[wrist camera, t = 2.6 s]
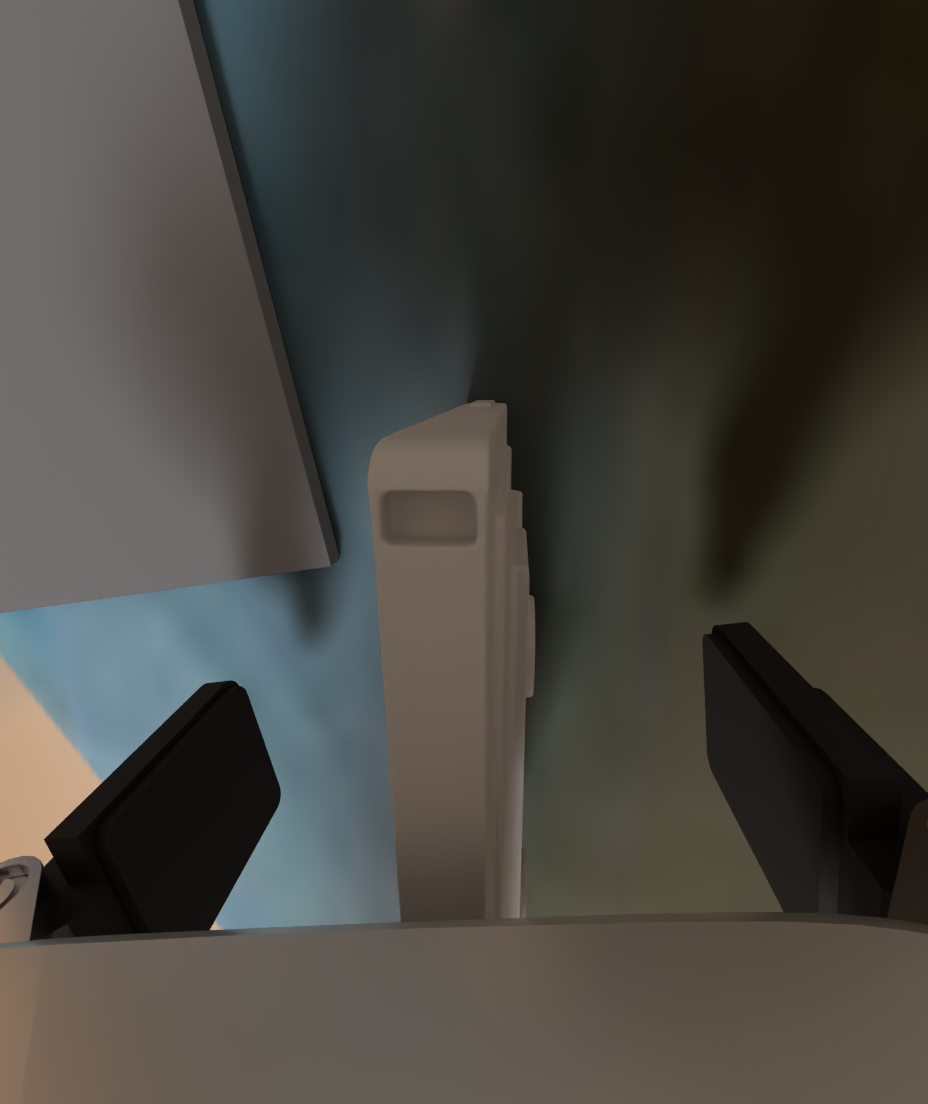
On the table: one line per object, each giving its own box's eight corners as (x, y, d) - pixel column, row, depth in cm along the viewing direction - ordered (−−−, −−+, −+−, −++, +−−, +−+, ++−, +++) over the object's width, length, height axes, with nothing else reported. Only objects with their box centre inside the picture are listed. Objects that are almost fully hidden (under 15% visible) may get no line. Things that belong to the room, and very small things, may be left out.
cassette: (442, 400, 11) (292, 435, 4) (531, 399, 11) (565, 433, 3) (453, 838, 15) (392, 1290, 7) (519, 843, 14) (522, 1310, 7)
